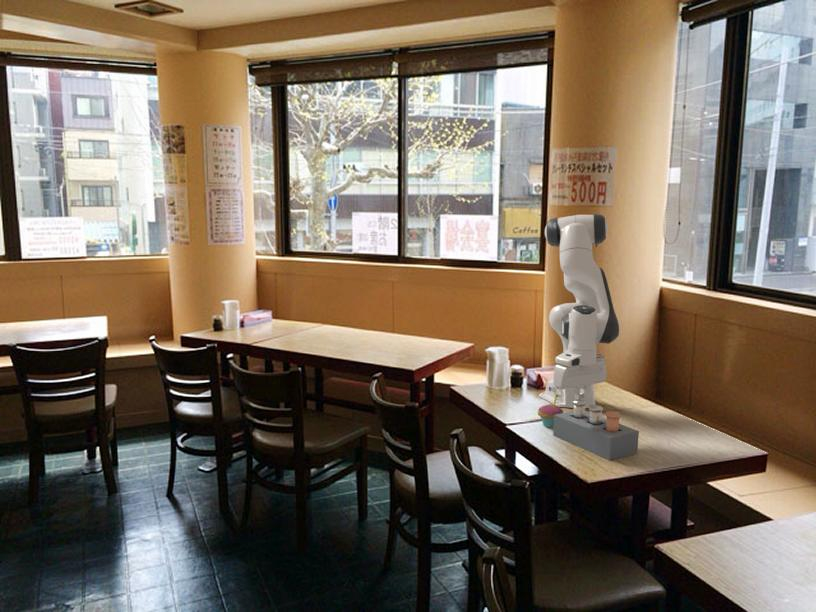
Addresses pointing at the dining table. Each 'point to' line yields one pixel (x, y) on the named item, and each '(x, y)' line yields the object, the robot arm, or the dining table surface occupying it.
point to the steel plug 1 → (579, 409)
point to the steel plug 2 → (595, 414)
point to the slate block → (596, 436)
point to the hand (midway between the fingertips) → (579, 398)
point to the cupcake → (549, 413)
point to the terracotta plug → (612, 421)
